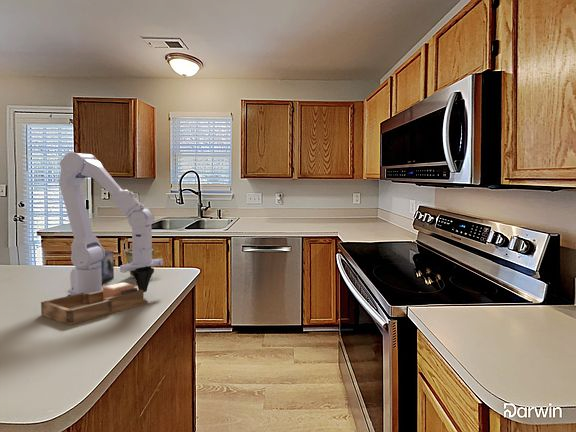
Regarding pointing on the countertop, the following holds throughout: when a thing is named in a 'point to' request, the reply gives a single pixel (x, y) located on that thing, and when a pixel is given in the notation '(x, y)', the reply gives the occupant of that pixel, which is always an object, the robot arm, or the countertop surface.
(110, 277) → the small box
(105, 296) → the block
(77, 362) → the countertop surface
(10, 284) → the countertop surface
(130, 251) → the ceramic cup
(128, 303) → the wooden tray
